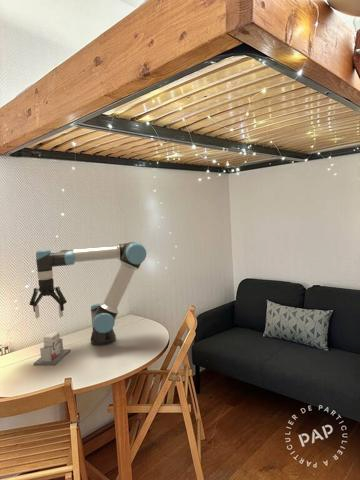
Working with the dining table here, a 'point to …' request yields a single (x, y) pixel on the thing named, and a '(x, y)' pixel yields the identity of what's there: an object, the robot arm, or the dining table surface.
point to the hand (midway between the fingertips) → (49, 317)
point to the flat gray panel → (46, 355)
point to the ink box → (53, 343)
